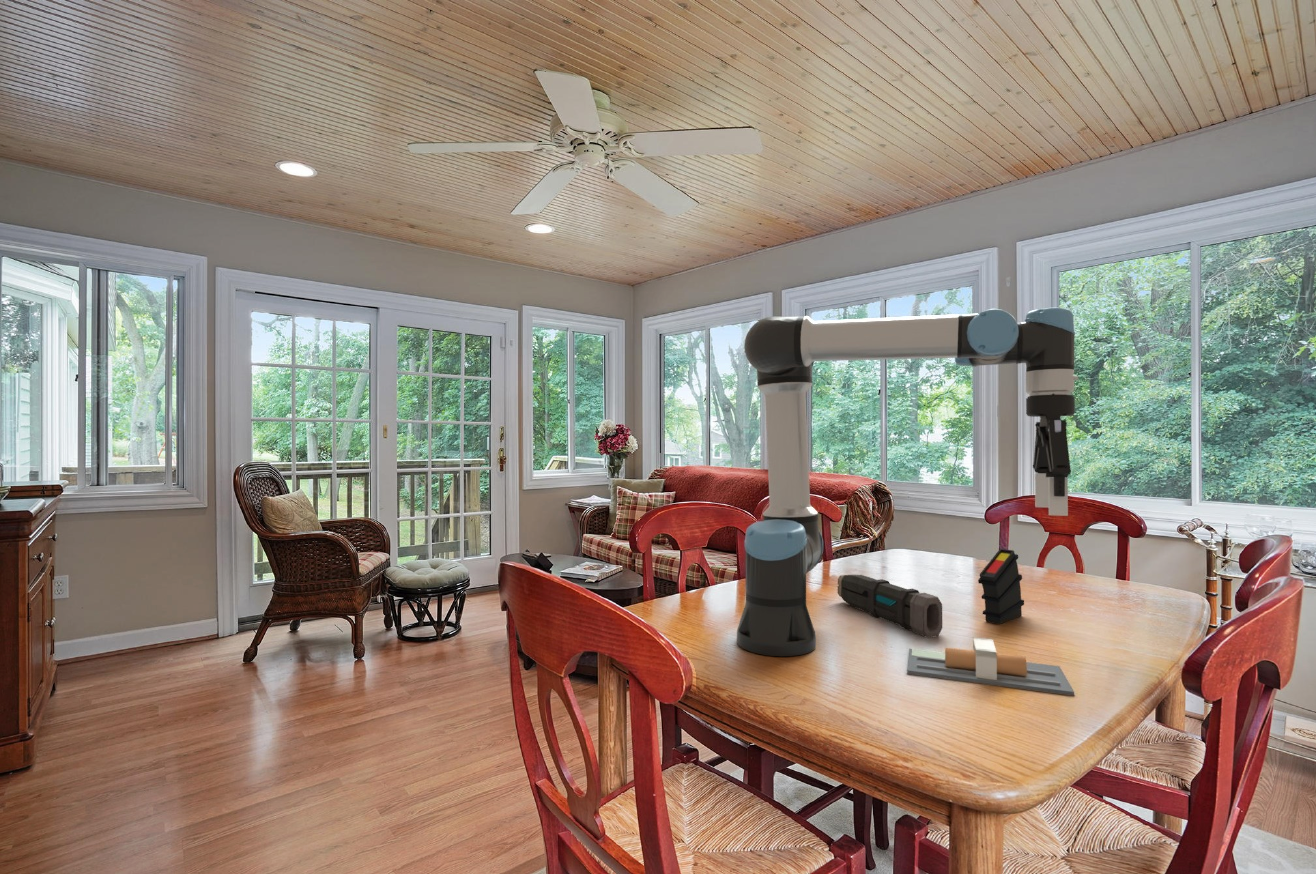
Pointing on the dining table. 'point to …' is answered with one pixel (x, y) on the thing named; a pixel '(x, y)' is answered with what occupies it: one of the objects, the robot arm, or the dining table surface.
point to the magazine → (1002, 587)
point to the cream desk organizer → (985, 658)
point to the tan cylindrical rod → (968, 661)
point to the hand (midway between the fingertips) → (1050, 511)
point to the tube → (893, 603)
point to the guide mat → (1036, 679)
